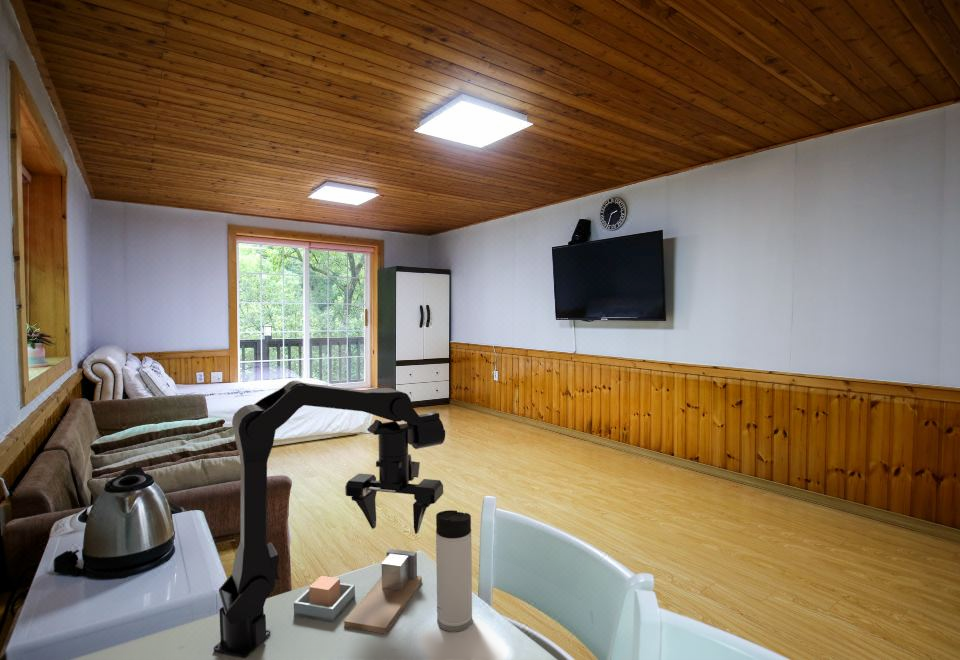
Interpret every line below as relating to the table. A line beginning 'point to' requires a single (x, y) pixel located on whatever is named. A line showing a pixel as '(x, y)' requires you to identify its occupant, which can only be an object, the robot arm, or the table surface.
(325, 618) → the tray
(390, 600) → the rail base
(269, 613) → the table surface
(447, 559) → the travel mug
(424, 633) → the table surface
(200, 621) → the table surface
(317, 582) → the block
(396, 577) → the block
